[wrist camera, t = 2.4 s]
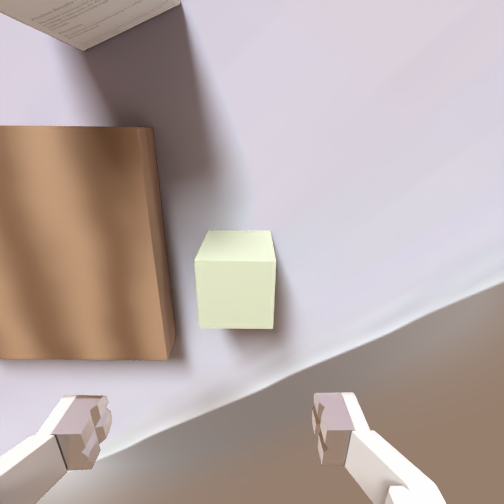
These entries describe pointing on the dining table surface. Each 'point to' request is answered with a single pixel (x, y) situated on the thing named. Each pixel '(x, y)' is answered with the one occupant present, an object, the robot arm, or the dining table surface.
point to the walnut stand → (82, 245)
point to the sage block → (236, 280)
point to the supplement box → (84, 17)
